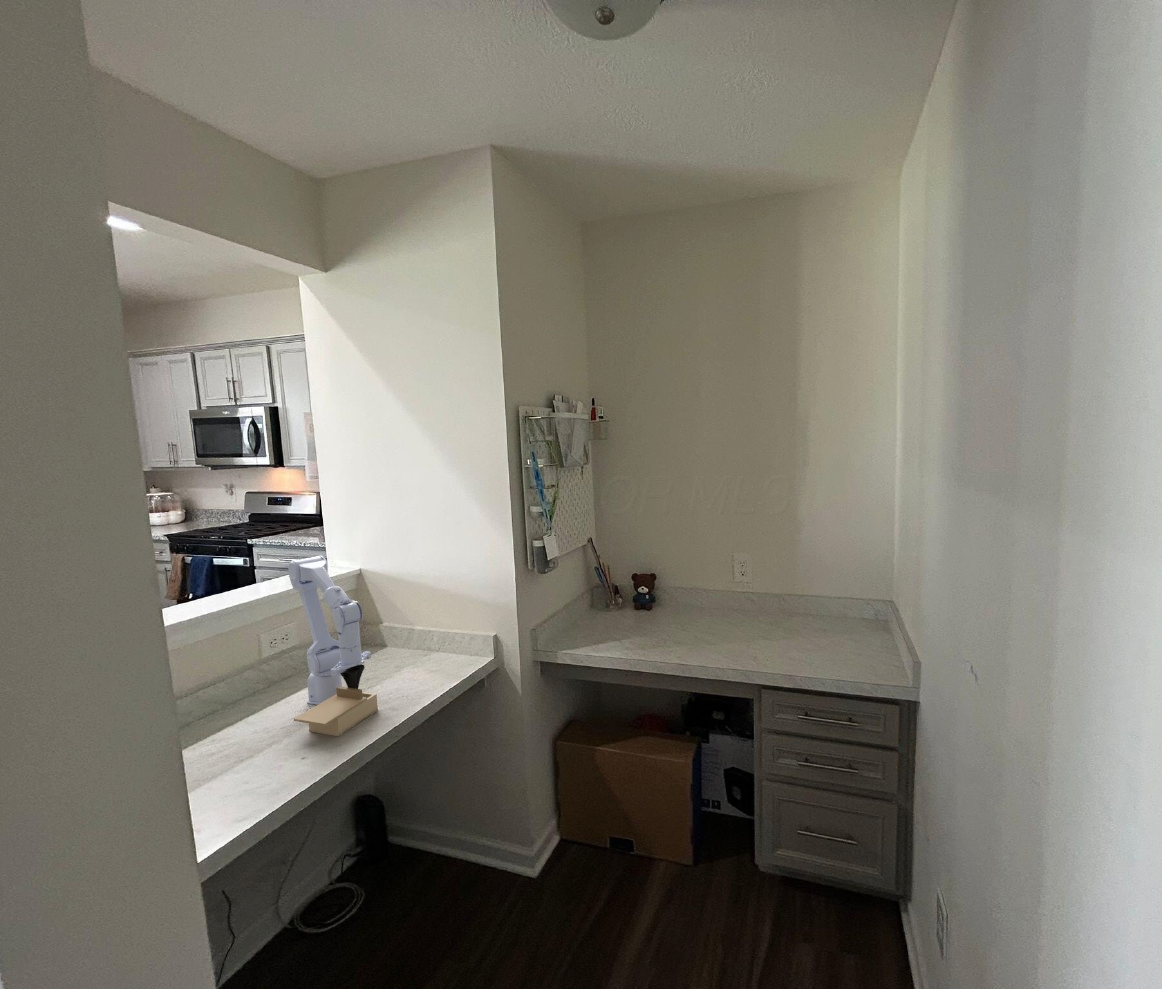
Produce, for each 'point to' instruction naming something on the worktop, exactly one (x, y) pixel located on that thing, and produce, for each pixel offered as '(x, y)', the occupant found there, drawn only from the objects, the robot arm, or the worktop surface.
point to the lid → (333, 707)
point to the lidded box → (349, 717)
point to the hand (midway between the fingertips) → (353, 691)
